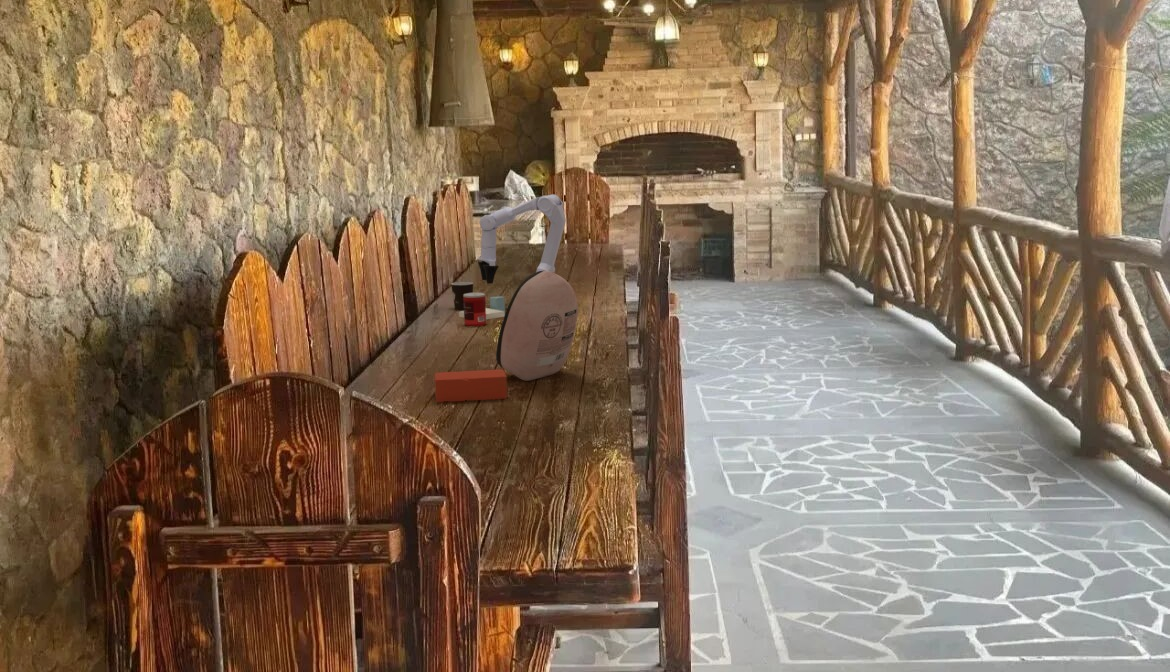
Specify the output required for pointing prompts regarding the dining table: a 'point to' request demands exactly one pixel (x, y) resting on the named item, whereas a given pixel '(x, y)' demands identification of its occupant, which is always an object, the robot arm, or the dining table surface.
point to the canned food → (474, 309)
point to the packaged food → (538, 327)
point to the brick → (470, 385)
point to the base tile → (488, 313)
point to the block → (497, 303)
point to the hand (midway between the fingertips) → (487, 281)
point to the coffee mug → (460, 293)
